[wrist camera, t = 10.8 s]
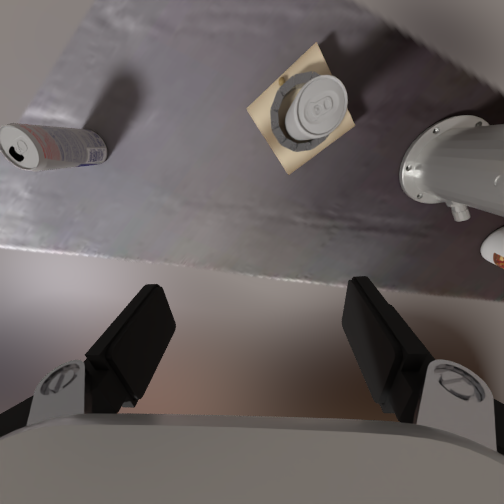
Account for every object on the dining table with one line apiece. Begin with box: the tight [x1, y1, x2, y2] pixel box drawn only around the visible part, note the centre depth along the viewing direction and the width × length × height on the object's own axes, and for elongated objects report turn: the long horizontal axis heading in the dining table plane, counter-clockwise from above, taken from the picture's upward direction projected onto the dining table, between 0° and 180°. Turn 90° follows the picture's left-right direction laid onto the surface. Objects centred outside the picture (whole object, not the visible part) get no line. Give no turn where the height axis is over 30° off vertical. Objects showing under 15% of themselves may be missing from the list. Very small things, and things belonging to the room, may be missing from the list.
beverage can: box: [285, 75, 348, 141], centre depth 23 cm, size 5×5×12 cm
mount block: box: [247, 42, 355, 175], centre depth 29 cm, size 11×11×4 cm
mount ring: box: [270, 71, 329, 152], centre depth 27 cm, size 8×8×2 cm
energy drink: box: [0, 123, 107, 171], centre depth 30 cm, size 5×5×12 cm
